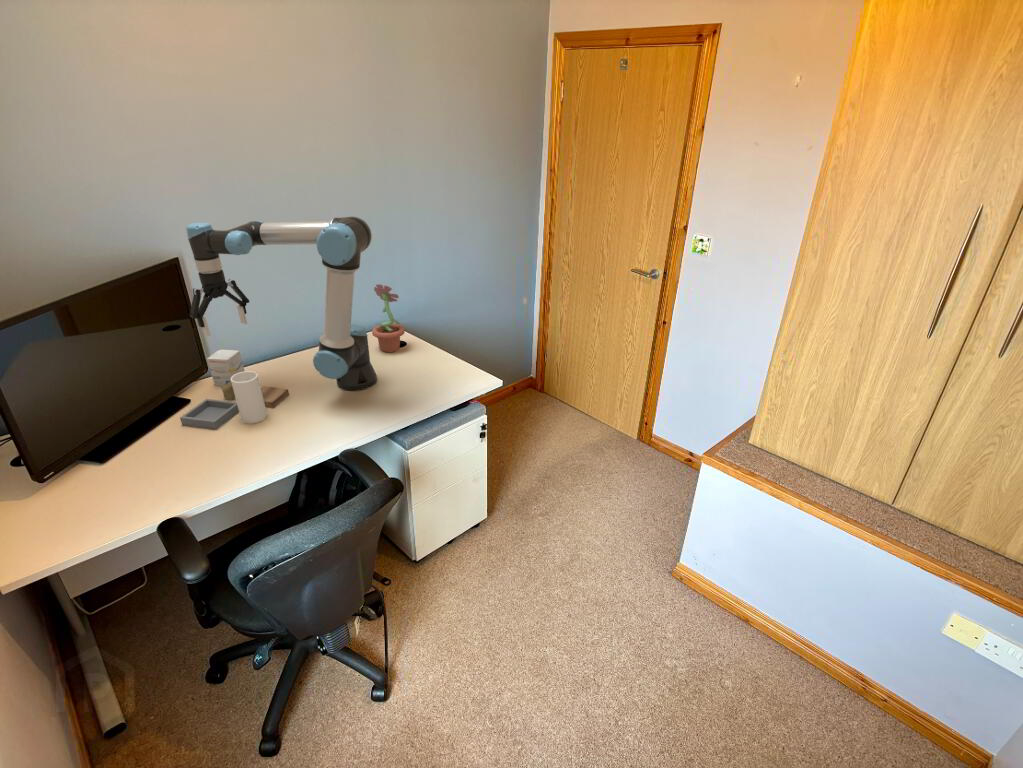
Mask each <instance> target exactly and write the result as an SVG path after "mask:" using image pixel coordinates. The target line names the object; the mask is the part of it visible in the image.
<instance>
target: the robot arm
mask: <svg viewBox="0 0 1023 768" xmlns="http://www.w3.org/2000/svg"><path fill="white" fill-rule="evenodd" d="M185 230H186V233H187V240H188V242H189V246H190V248H191V251H192V252H191V253H192V256H193V260H194V263H195V267H196V270H197V271H198V276H199V277H198V278H199V281H200V285H201V287H200V288H193V289H192V294H193V296H192V301H191V307H190V311H189V317H190V318H192V319H196V320H197V323H198V326H199V327H200V328H202V331H203V334H204V335H205V336H207V337H210V336H211V332H210V329H209V325H208V323H207V320H206V317H204V315H206V311H207V309H208V307H209V305H210V304H211V303H210V302H212V300H213V299H218V298H220V297H224V296H226V297H227V298H229V299H231V300H232V301H233V302H234V303H236V304H238V305H236V308H237V311H238V316H239V319H240V323H242V324H244V325H248V322H247V317H246V315H247V314H248V313H247V310H246V309H247V308H246V306H247V304H248V303H250V299H249V298H248V297H247V296H246V294H245V293H243V291H242V289H240V288H239V287H238V284H237V283H236V281H235V280H234V279H231V278H229V279H228V280H227V281H226V277H225V273H224V270H223V269H222V268H223V265H222V262H221V258H220V255H234V256H235V255H236V256H240V255H248V254H249V253H250V251H251V250H252V248H253V247H255V246H271V245H273V246H276V245H277V246H278V245H279V246H280V245H284V246H285V245H291V246H292V245H316V249H317V252H318V255H320V256H321V264H322V265H323V266H324V268H325V269H326V278H325V279H326V285H325V302H324V303H325V305H324V307H325V308H324V331H323V333H322V334H321V335H320V336H319V337H318V338H319V340H318V341H319V342H318V351H317V352H316V353H314V355H313V359H312V363H313V367H314V369H315V370H316V372H318V373H319V374H320V375H321V376H322V377H324V378H326V379H330V380H336V385H337V387H338V388H340V389H342V390H344V391H349V392H352V391H353V392H357V391H363V390H366V389H369V388H371V387H373V386H374V385H375V384H376V383H377V382H378V376H377V373H376V371H375V369H374V366H373V365H372V362H371V358H370V348H369V338H368V335H369V334H368V333H367V328H366V327H364V325H361V324H360V325H359V324H353V323H352V316H353V315H352V312H353V311H352V310H353V301H354V300H353V299H354V298H353V297H354V287H355V286H354V283H355V272H356V271H358V270H359V269H360V268H361V266H360V265H361V254H362V253H363V252H365V250H366V249H368V248H369V246H370V244H371V243H372V230H371V228H370V226H369V225H368V223H367V222H366V221H365V220H363V219H362V218H360V217H358V216H344V217H333V218H332V219H331V220H323V221H322V220H321V221H320V220H318V221H317V220H315V221H311V220H310V221H274V222H267V221H266V222H264V221H262V220H252V221H249V222H247V223H245V224H242V225H239V226H236V227H233V228H231V229H226V230H216V229H214V228H213V227H212V224H211V223H209V222H202V221H201V222H194V223H190V224H188V225H187V226H186V227H185ZM228 287H230V288H231V290H233V292H234V293H235V294H236V295H237V296H238V297H239V298H238V297H237V296H235V295H234V294H232V293H231V292H230V291H229V290H228ZM203 293H204V294H203ZM202 295H203V296H202ZM201 298H202V300H201Z"/></svg>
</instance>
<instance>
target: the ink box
mask: <svg viewBox="0 0 1023 768" xmlns="http://www.w3.org/2000/svg"><path fill="white" fill-rule="evenodd" d="M206 360H207V364H208V368H209V371H210V373H211V378H212V381H213V384H214V386H217V387H223V386H224V385H225V384H227V383H228V382H230V381H231V377H232V376H233V375H235V374H237V373H239V372H244V371H245V366H244V363H243V359H242V355H241V352H240V350H234V349H218V350H217V351H215V352H214V353H212V354H211V355H209V357H207V358H206Z"/></svg>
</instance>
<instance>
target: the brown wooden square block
mask: <svg viewBox="0 0 1023 768" xmlns="http://www.w3.org/2000/svg"><path fill="white" fill-rule="evenodd" d="M261 391H262V395H263V399H264V404H265V408H266V409H276V407H277V406H279V405H280V404H281V403H282V402H283V401H284V400H285V399H286V398H288V397H289V396H290V392H289V388H285V387H284V388H283V387H274V386H273V387H272V386H266V385H265V386H264V385H263V386H262V387H261Z"/></svg>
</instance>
